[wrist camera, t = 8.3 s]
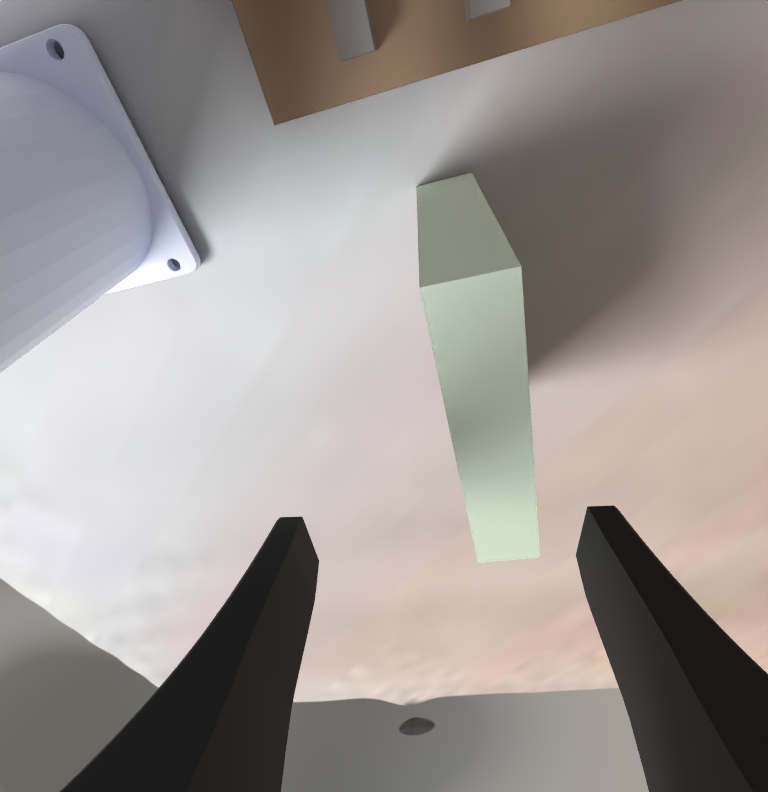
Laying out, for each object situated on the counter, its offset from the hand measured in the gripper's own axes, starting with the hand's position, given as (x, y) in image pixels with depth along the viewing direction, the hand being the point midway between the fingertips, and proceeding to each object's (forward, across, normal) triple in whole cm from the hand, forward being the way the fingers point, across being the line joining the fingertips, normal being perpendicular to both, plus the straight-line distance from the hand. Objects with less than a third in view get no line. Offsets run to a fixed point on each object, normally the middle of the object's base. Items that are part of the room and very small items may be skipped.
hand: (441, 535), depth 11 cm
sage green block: (+10, -2, -1) cm, 11 cm away
